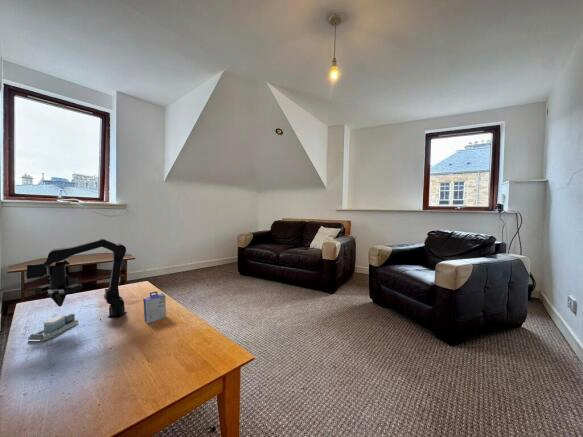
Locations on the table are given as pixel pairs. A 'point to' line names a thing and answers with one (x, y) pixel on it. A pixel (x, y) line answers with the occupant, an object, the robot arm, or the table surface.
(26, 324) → the table surface
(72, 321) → the din rail
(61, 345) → the table surface
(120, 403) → the table surface
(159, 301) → the ink cartridge box
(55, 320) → the block
